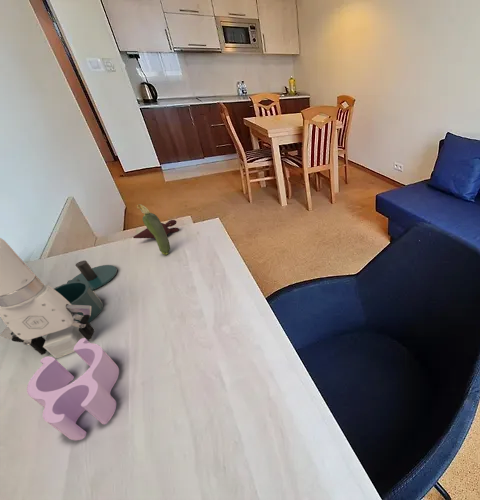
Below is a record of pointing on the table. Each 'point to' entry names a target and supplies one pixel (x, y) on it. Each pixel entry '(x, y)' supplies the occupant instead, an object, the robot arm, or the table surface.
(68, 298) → the pot
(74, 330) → the small box
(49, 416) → the clip
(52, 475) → the table surface
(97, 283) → the pot lid
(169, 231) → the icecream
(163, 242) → the vegetable
